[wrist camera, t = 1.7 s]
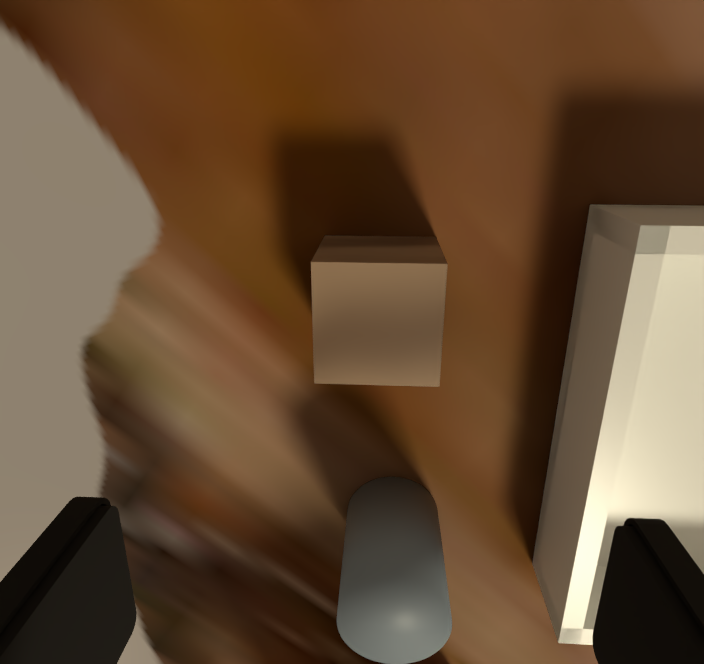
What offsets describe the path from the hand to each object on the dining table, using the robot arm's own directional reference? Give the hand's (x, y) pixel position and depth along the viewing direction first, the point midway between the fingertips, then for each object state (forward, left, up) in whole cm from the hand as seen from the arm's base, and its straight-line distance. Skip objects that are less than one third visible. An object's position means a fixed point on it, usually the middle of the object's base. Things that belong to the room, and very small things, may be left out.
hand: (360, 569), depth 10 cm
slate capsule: (+12, +1, -16) cm, 21 cm away
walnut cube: (-1, 0, -17) cm, 17 cm away
